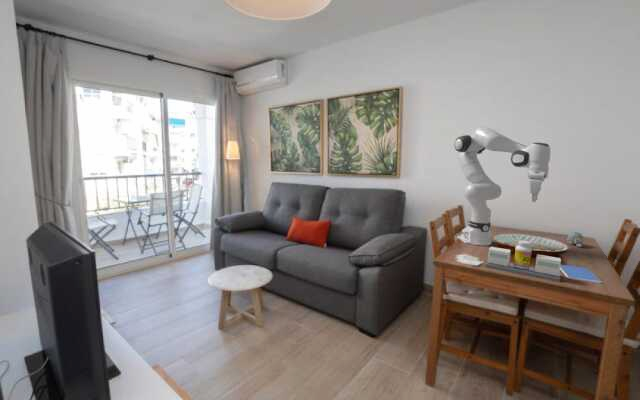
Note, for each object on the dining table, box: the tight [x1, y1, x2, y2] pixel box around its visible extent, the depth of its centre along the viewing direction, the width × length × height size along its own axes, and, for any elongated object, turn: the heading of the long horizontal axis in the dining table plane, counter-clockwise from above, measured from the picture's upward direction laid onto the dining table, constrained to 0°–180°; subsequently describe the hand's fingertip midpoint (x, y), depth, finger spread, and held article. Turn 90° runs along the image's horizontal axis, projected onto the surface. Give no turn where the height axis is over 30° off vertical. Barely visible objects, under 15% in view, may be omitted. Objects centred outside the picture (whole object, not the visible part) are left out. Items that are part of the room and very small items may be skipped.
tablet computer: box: [560, 264, 603, 284], centre depth 147 cm, size 19×13×1 cm, turn 155°
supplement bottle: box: [513, 240, 532, 269], centre depth 149 cm, size 7×7×13 cm
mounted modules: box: [487, 246, 562, 276], centre depth 149 cm, size 29×6×7 cm, turn 52°
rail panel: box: [485, 262, 561, 283], centre depth 150 cm, size 30×10×2 cm, turn 52°
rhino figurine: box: [566, 231, 584, 248], centre depth 193 cm, size 7×12×8 cm, turn 159°
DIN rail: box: [486, 260, 561, 278], centre depth 150 cm, size 30×4×1 cm, turn 52°
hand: (534, 200), depth 159 cm, fingers open, 8 cm apart
